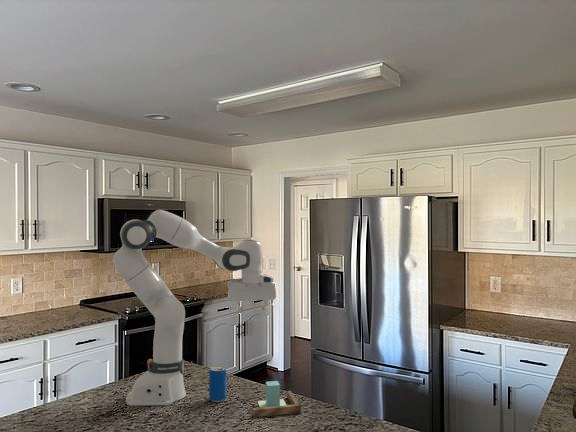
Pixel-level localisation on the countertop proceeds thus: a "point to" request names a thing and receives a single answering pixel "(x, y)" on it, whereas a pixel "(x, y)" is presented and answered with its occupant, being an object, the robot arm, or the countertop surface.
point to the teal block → (272, 393)
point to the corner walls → (279, 408)
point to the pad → (263, 404)
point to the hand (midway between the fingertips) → (252, 311)
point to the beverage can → (217, 384)
